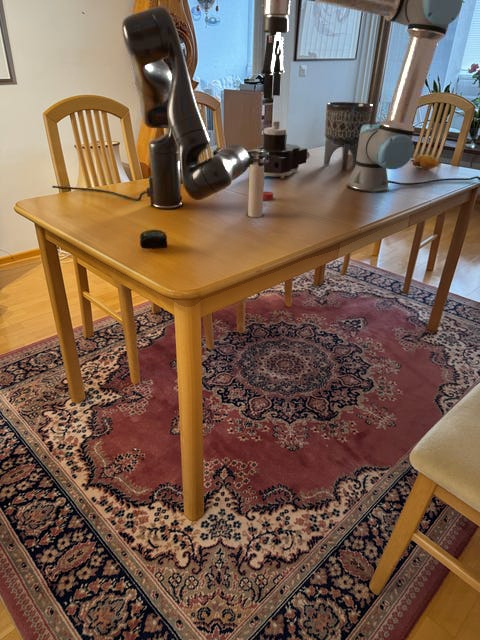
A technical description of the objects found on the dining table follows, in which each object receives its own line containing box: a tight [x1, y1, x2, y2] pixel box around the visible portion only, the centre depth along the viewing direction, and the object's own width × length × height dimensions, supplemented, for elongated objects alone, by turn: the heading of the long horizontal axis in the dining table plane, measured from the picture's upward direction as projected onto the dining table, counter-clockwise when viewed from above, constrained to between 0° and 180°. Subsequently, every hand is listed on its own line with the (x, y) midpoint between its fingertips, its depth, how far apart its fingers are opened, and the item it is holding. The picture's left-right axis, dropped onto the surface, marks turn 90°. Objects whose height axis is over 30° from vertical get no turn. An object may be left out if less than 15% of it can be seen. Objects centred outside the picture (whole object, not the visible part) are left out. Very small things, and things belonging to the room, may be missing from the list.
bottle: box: [247, 148, 265, 218], centre depth 139 cm, size 4×4×20 cm
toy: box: [410, 154, 440, 170], centre depth 211 cm, size 11×6×15 cm
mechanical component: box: [248, 120, 311, 179], centre depth 191 cm, size 22×21×30 cm
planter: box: [323, 101, 374, 172], centre depth 204 cm, size 20×20×26 cm
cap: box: [263, 191, 274, 202], centre depth 160 cm, size 4×4×2 cm
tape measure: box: [139, 229, 168, 250], centre depth 117 cm, size 7×7×4 cm
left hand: (248, 151), depth 125 cm, fingers open, 8 cm apart
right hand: (272, 97), depth 144 cm, fingers open, 13 cm apart
